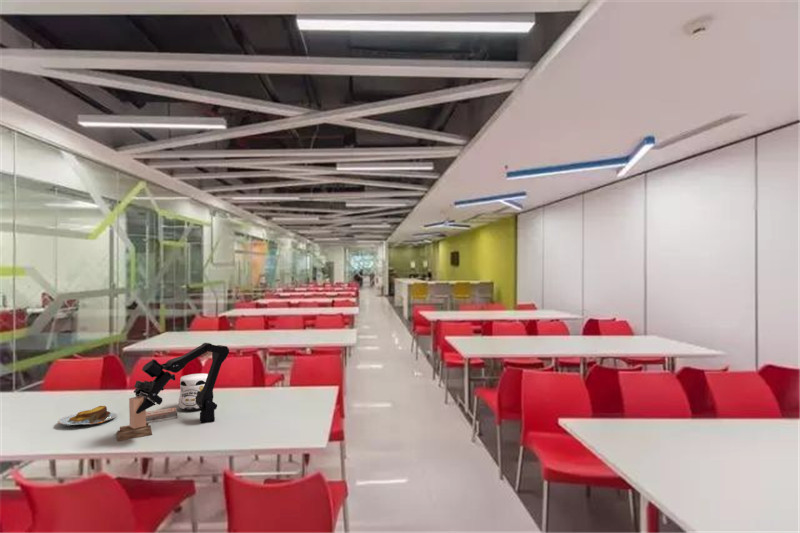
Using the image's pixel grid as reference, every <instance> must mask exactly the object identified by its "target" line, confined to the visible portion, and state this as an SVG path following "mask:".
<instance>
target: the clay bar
mask: <svg viewBox="0 0 800 533" xmlns="http://www.w3.org/2000/svg"><path fill="white" fill-rule="evenodd" d="M128 400H129V404H128V407H129V425H130V427H131V428H133V429H136V428H139V427H143V426H146V410H147V409H146V410H144V411H142V412H140V413H139V414H137V413H136V411H137V410H138V408H139V407H140V405H141V404H142V403H143V396H137V397H136V396H133V397H129V399H128Z"/></svg>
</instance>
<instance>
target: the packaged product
mask: <svg viewBox="0 0 800 533" xmlns="http://www.w3.org/2000/svg"><path fill="white" fill-rule="evenodd" d="M175 419H178V410H177V407H169V408H161V409H155V410H148V411H146V422H148V424H150V423H151V424H152V423H157V422H164V421H169V420H175Z"/></svg>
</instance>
